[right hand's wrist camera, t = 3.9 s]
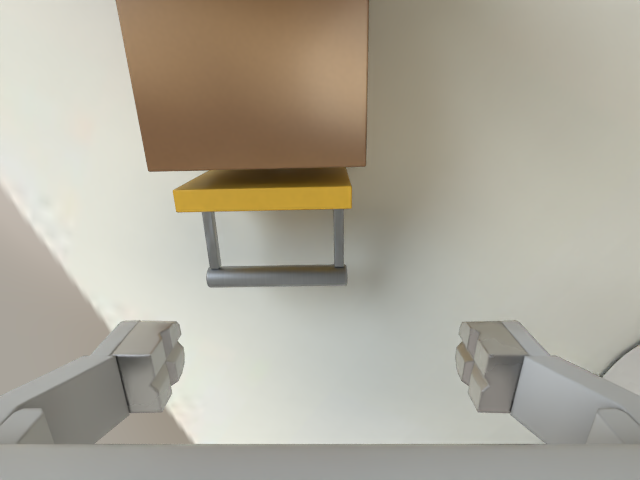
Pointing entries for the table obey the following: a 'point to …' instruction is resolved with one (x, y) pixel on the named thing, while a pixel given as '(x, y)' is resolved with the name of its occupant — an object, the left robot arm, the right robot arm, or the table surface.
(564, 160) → the table surface
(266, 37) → the wooden drawer cabinet
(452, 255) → the table surface
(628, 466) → the right robot arm
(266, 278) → the drawer
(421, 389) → the table surface
